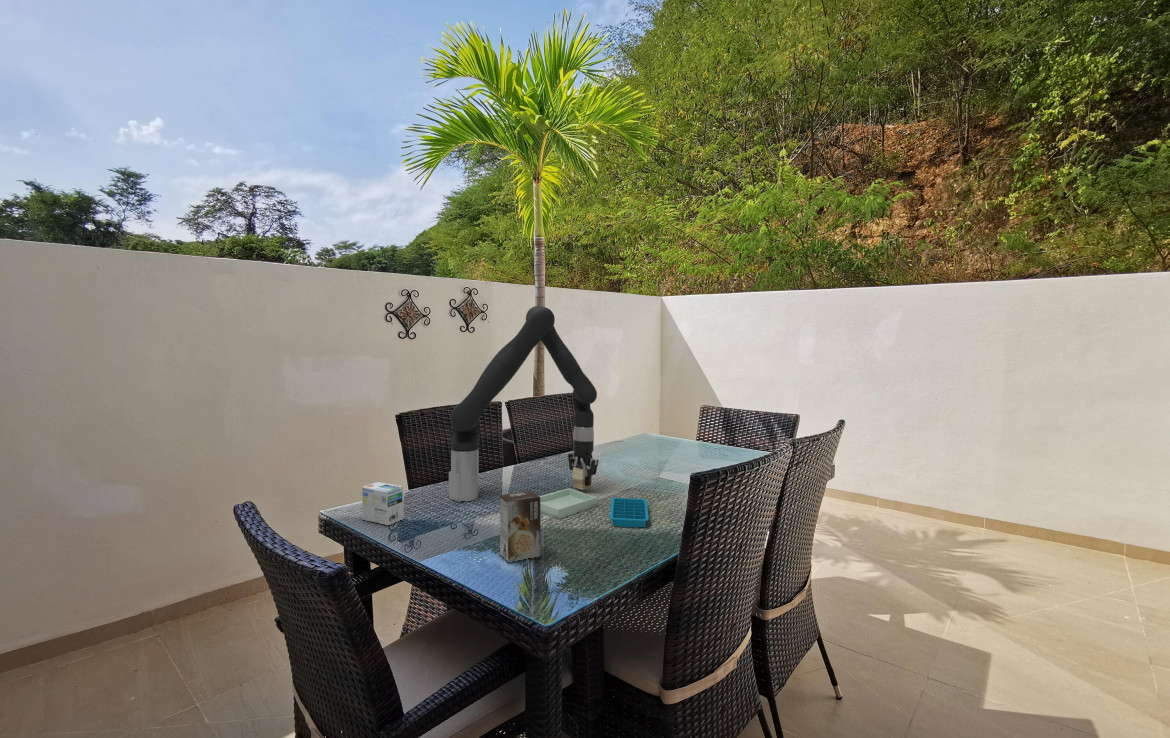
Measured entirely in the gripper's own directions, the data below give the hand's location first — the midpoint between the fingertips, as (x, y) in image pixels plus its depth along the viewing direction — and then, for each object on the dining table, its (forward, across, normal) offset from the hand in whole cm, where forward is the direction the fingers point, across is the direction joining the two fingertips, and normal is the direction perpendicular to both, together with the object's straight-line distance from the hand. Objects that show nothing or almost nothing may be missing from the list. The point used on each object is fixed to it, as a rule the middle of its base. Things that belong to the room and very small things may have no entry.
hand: (582, 483), depth 193 cm
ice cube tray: (+3, +29, -7) cm, 30 cm away
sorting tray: (+3, +8, -17) cm, 19 cm away
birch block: (+1, 0, 0) cm, 1 cm away
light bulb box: (+4, -20, -66) cm, 69 cm away
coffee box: (+3, +28, -51) cm, 58 cm away
